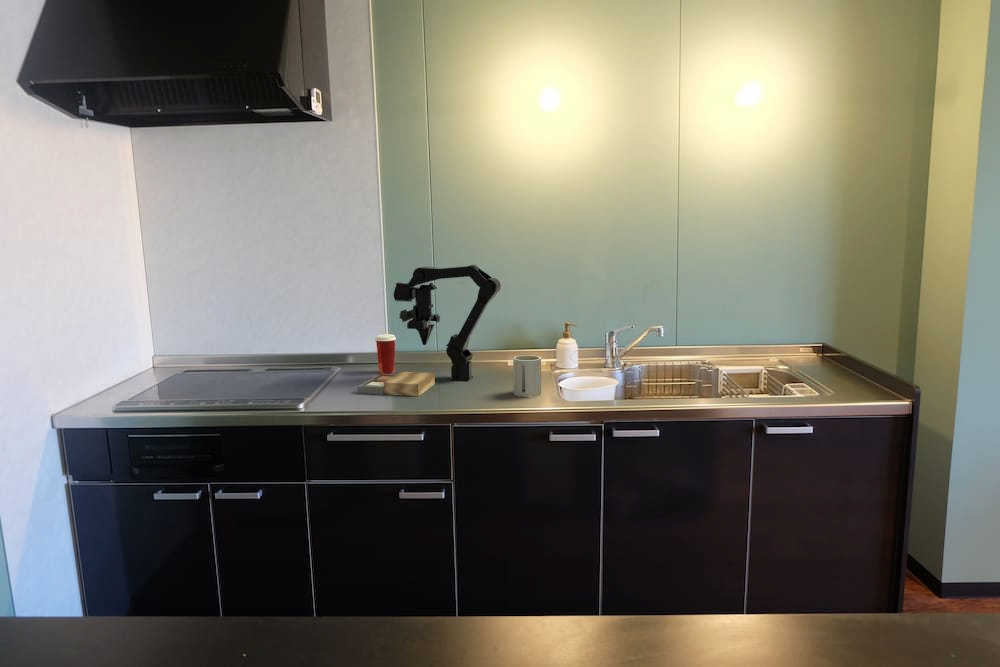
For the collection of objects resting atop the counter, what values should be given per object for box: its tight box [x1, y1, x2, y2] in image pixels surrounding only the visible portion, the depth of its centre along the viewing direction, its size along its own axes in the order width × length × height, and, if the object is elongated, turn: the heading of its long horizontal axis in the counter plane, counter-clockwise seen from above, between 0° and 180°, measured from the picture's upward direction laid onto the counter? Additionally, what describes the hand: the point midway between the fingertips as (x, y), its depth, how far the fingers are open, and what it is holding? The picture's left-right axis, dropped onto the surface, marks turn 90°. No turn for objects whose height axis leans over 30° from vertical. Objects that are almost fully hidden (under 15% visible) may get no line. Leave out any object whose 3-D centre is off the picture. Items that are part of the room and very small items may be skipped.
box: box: [357, 373, 397, 396], centre depth 236 cm, size 9×18×2 cm, turn 166°
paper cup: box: [375, 333, 397, 375], centre depth 258 cm, size 8×8×14 cm
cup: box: [512, 354, 542, 398], centre depth 226 cm, size 9×9×12 cm
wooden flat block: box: [384, 371, 436, 397], centre depth 233 cm, size 12×16×4 cm
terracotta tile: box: [377, 376, 392, 382], centre depth 240 cm, size 4×4×2 cm
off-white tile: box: [366, 382, 384, 387], centre depth 232 cm, size 4×4×2 cm
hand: (424, 344), depth 249 cm, fingers closed
